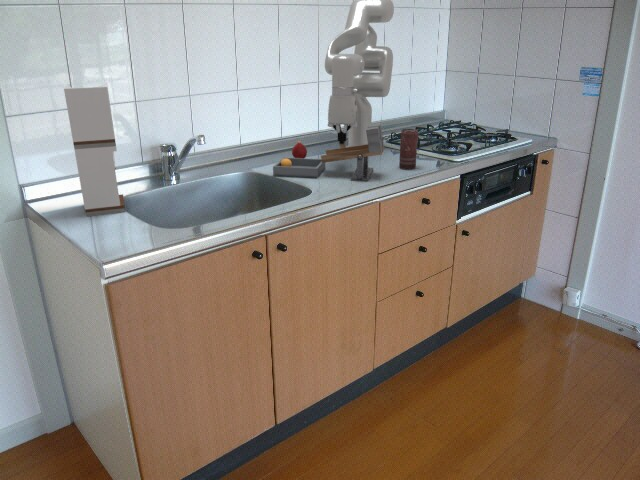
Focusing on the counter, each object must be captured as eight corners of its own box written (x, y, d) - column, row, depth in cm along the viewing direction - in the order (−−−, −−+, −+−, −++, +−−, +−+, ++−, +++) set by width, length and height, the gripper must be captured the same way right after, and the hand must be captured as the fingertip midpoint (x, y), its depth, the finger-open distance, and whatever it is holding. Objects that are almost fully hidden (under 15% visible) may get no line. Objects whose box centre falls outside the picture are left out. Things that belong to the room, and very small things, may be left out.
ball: (295, 162, 200) (288, 170, 202) (287, 155, 200) (280, 162, 201) (292, 165, 196) (285, 173, 198) (284, 157, 196) (277, 165, 198)
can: (416, 170, 201) (418, 131, 195) (398, 169, 202) (400, 131, 197) (416, 166, 206) (419, 128, 201) (399, 165, 207) (401, 128, 202)
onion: (309, 160, 216) (309, 140, 213) (303, 163, 211) (302, 143, 208) (296, 159, 218) (295, 139, 215) (289, 162, 213) (289, 141, 210)
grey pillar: (125, 211, 159) (107, 87, 146) (86, 216, 155) (63, 88, 142) (124, 200, 169) (106, 82, 156) (86, 204, 165) (66, 84, 152)
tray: (284, 166, 207) (283, 157, 206) (325, 168, 204) (325, 159, 202) (273, 176, 194) (272, 166, 193) (317, 178, 191) (317, 168, 190)
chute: (331, 152, 207) (327, 128, 204) (386, 144, 201) (383, 119, 198) (322, 162, 191) (317, 137, 188) (381, 154, 186) (377, 128, 183)
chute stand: (357, 169, 202) (357, 146, 198) (373, 170, 201) (374, 146, 197) (350, 180, 188) (351, 155, 185) (368, 181, 187) (368, 156, 184)
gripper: (364, 91, 198) (363, 142, 205) (324, 90, 201) (324, 140, 208) (361, 93, 191) (360, 146, 198) (319, 92, 194) (320, 144, 201)
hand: (342, 143), depth 203 cm, fingers closed
